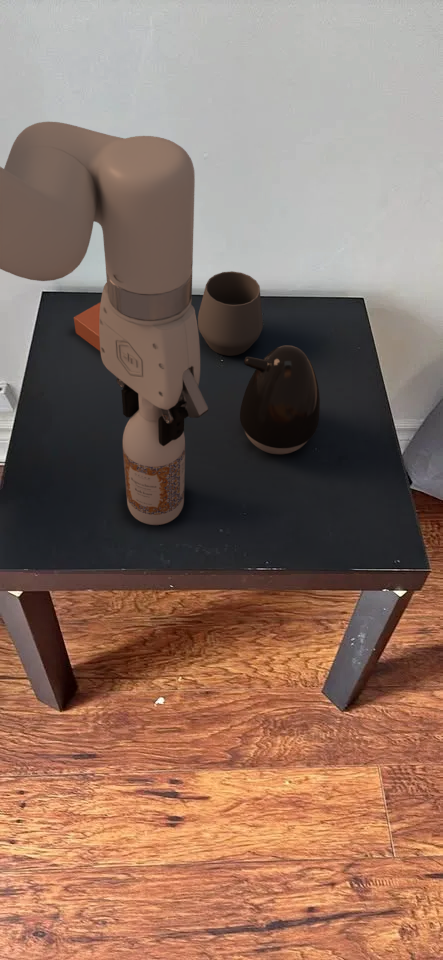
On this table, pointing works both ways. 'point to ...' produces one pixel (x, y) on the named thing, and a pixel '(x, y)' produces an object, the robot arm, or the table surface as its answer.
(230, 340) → the cup
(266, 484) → the table surface
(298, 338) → the table surface
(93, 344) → the button housing
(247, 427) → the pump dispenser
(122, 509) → the table surface
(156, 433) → the bath foam
